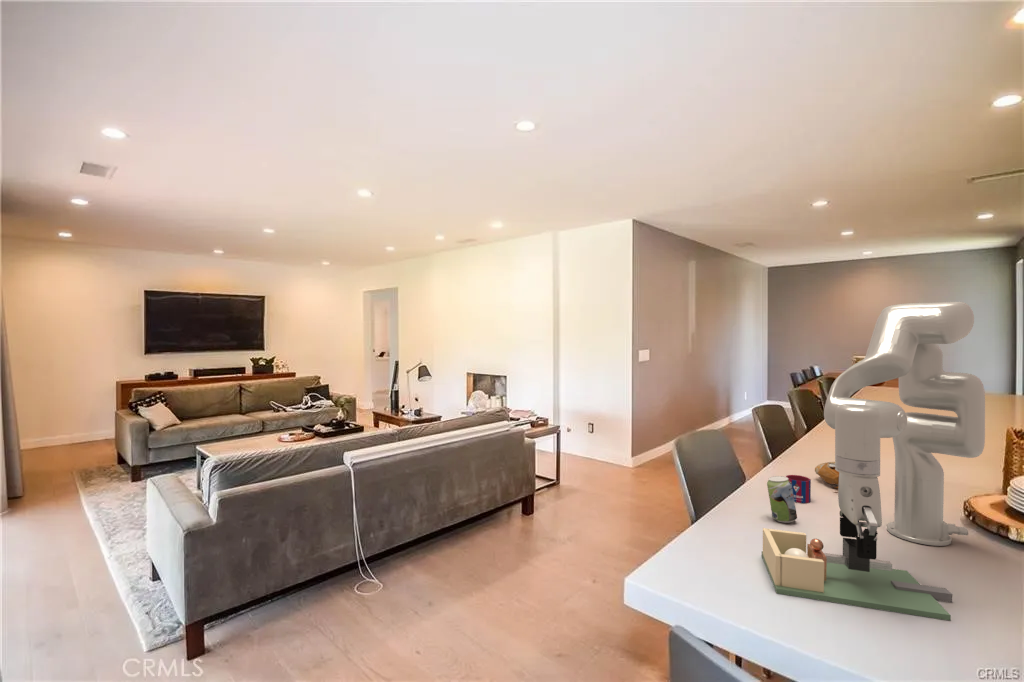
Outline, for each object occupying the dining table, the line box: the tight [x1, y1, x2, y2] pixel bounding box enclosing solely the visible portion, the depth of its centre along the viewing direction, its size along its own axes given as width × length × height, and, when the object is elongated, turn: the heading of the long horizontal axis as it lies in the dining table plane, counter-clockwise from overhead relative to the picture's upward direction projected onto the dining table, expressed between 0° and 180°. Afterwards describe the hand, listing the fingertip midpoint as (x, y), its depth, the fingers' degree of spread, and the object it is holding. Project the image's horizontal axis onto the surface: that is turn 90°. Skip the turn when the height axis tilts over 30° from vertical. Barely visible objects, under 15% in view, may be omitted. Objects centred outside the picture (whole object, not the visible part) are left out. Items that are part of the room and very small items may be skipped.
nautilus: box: [814, 461, 839, 494], centre depth 160 cm, size 8×22×15 cm
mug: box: [785, 474, 812, 504], centre depth 149 cm, size 7×10×7 cm
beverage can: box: [766, 475, 798, 524], centre depth 131 cm, size 6×7×12 cm
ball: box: [784, 548, 809, 558], centre depth 101 cm, size 5×5×5 cm
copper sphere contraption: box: [806, 537, 893, 581], centre depth 98 cm, size 14×6×8 cm, turn 71°
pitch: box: [761, 527, 953, 621], centre depth 98 cm, size 32×17×7 cm, turn 71°
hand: (857, 546), depth 98 cm, fingers open, 9 cm apart
